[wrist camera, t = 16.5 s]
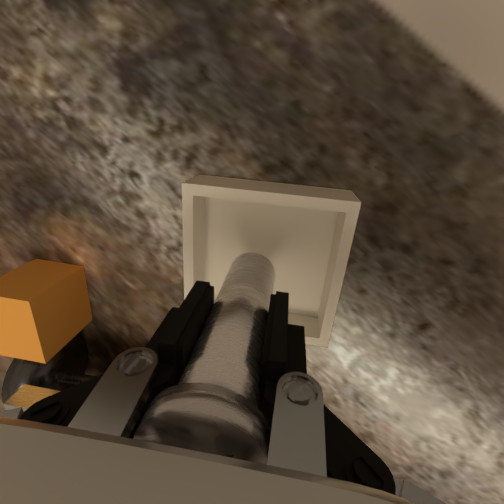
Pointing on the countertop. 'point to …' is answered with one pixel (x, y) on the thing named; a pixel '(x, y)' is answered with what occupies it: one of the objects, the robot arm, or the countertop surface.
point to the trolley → (45, 376)
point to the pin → (221, 374)
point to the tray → (272, 240)
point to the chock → (42, 309)
